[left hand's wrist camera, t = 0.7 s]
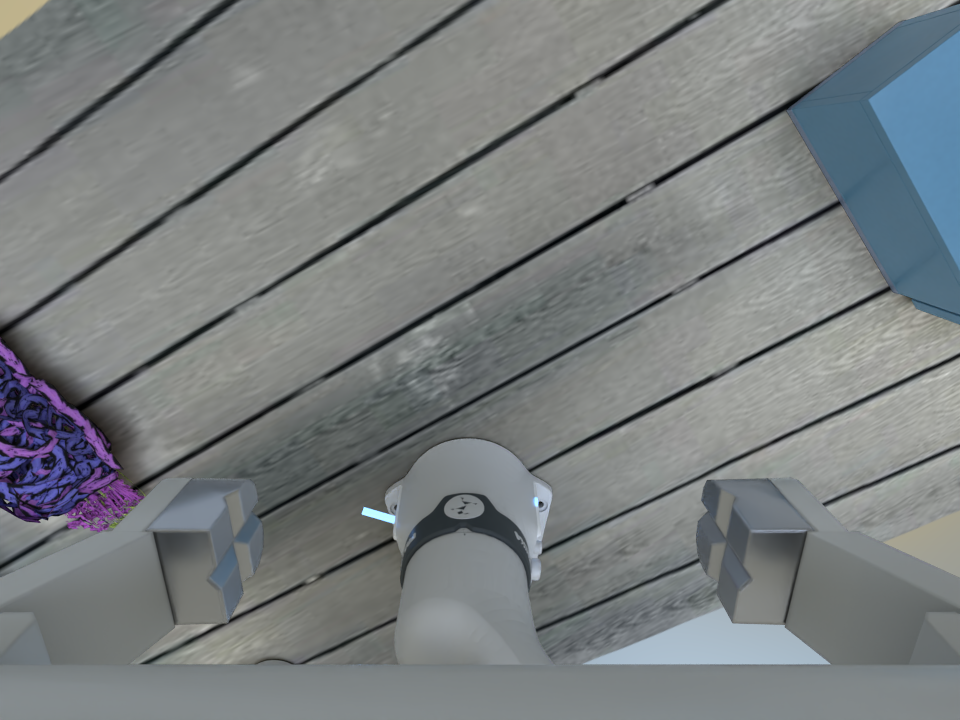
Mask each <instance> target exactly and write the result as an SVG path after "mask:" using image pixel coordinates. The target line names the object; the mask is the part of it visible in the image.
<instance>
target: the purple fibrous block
mask: <svg viewBox="0 0 960 720" xmlns="http://www.w3.org/2000/svg"><path fill="white" fill-rule="evenodd" d="M13 378H14V379H15V380H14V379H13ZM0 390H1V391H0V508H2V509H4V510H5V511H7V512H9V513H11V514H13V515H14V516H16V517H18V518H20V519H22V520H24V521H26V522H37V523H41V522H40V521H38V520H40V519H45V520H48V517H50V516H60V515H63V514H66V513H68V514H69V516H68V515H67V514H66V515H67V516H68V518H75V519H76V518H79V519H80V521H79V520H78V521H72V522H71V523H67V524H68V525H66V526H67V527H69V528H73V529H74V528H75V529H78V528H77V527H71V526H78V525H81V526H83V527H84V529H85V528H88V527H90V531H94V530H98V531H97V532H100V531H102V530H103V529H104V530H106V529H107V527H112V528H115V527H116V524H117V525H118V522H116V521H115V522H114V521H113V522H114V523H113V524H111V525H110V523H111V522H110V523H108V522H106V521H105V519H102V518H103V517H104V518H105V517H107V518H108V516H112V517H110V518H108V519H110V520H114V519H112V518H115V517H117V519H116V520H121V521H122V520H123V519H124V518H125V517H123V516H122V515H126V516H127V515H128V514H127V513H128V511H129V510H130V509H131V508H132V509H134V508H135V507H136V505H138V504H139V502H141V501H142V500H143V499H144V498H145V497H146V495H145V494H144V493H143V492H142V491H141V490H140V489H139V488H138V487H137V488H138V489H139V490H140V491H141V492H142V493H143V494H144V495H145V496H144V495H143V494H142V495H143V496H142V495H140V496H139V495H138V496H137V494H138V492H139V491H138V490H137V491H138V492H137V493H136V492H133V491H132V490H133V489H129V488H130V486H128V485H124V483H125V482H123V479H122V480H120V479H119V478H118V472H119V471H118V470H117V469H123V468H122V466H121V465H120V464H119V463H118V461H117V460H116V459H115V457H114V456H113V455H112V453H111V452H110V451H111V443H110V441H109V440H108V438H107V437H106V436H105V434H104V433H103V432H102V430H101V429H100V428H99V427H98V426H97V425H95V424H94V423H93V422H92V421H91V420H90V419H89V418H88V417H86V416H85V415H84V414H83V413H82V412H81V411H79V410H78V409H77V408H76V407H75V406H74V405H72V404H70V403H67V402H66V400H65V399H64V398H63V397H62V396H61V394H60V393H59V392H58V391H57V390H56V388H55V387H54V386H53V385H51V384H50V383H48V382H47V381H45V380H44V379H39V380H37V379H36V378H35V377H34V376H33V375H31V374H30V372H29V371H28V369H27V368H26V367H25V365H24V364H23V363H22V362H21V360H20V359H19V358H18V357H17V356H16V354H15V353H14V352H13V351H12V350H11V349H10V348H9V347H8V346H7V345H6V342H5V341H4V340H3V339H2V338H0ZM32 403H34V404H36V405H38V406H35V407H34V408H31V405H32ZM33 406H34V405H33ZM115 471H116V472H117V471H118V472H117V474H116V473H115ZM119 473H120V474H121V475H123V474H122V473H121V472H119ZM123 476H124V475H123ZM124 477H125V476H124ZM125 478H126V477H125ZM126 479H127V480H129V479H128V478H126ZM129 481H130V480H129ZM130 482H131V481H130ZM114 483H115V484H114ZM131 483H132V482H131ZM110 484H111V485H110ZM132 484H133V483H132ZM114 487H115V488H116V489H115V488H114ZM110 489H111V490H110ZM107 491H109V493H108V492H107ZM134 491H136V490H134ZM104 493H106V494H107V495H106V496H105V495H104ZM114 494H115V496H114ZM118 494H119V495H118ZM109 495H110V496H109ZM116 495H117V496H116ZM121 495H123V497H122V496H121ZM100 496H102V497H103V496H104V497H105V498H101V497H100ZM107 496H108V497H107ZM98 497H100V498H98ZM111 497H112V498H111ZM129 497H130V498H131V499H129ZM136 497H137V498H138V499H137V498H136ZM3 499H5V500H7V501H10V502H9V503H8V504H7V503H6V502H5V501H4V500H3ZM111 499H114V500H115V502H113V501H112V500H111ZM105 500H106V501H105ZM108 500H109V501H108ZM118 500H119V501H118ZM126 500H129V501H130V502H132V500H133V502H134V500H135V501H136V500H137V501H138V503H135V506H134V505H131V504H132V503H133V502H132V503H130V502H128V501H126ZM94 501H95V502H96V503H94ZM126 502H128V505H126ZM87 503H88V504H87ZM86 504H87V506H86ZM93 504H94V505H93ZM105 504H108V505H107V506H106V505H105ZM116 504H118V505H116ZM121 504H122V505H121ZM133 504H134V503H133ZM96 505H98V506H97V507H99V509H101V508H102V509H103V511H106V512H107V513H105V512H103V511H102V512H101V511H100V510H98V508H97V507H96ZM123 505H126V507H128V509H127V510H126V509H125V508H124V509H123V508H122V506H123ZM130 505H131V506H130ZM6 506H7V507H12V510H13V512H12V511H11V510H10V509H9V508H7V507H6ZM82 506H83V507H82ZM100 507H101V508H100ZM111 507H112V508H111ZM117 507H119V508H120V507H121V508H122V509H123V511H120V510H121V509H119V508H117ZM80 508H81V509H80ZM86 508H87V509H86ZM107 508H108V509H109V508H111V509H112V510H113V514H114V515H112V514H111V513H110V512H111V511H108V510H107ZM102 509H101V510H102ZM82 510H83V511H82ZM85 510H87V511H89V510H92V511H89V512H87V511H85ZM94 510H96V511H97V512H96V511H94ZM80 511H81V512H82V513H83V514H80V515H78V514H79V513H80ZM98 511H99V512H98ZM114 511H118V512H119V513H115V512H114ZM130 511H132V510H130ZM74 512H76V515H75V516H73V515H72V514H73V513H74ZM85 512H86V513H87V514H86V513H85ZM126 512H127V513H126ZM89 513H91V514H92V513H94V514H95V515H96V516H95V515H94V514H93V515H90V514H89ZM100 513H101V514H100ZM103 513H104V514H103ZM106 514H107V515H106ZM108 514H110V515H108ZM84 515H85V516H86V517H84ZM88 515H89V516H88ZM99 515H100V516H102V517H100V516H99ZM120 516H122V517H123V518H119V517H120ZM95 517H98V518H100V520H101V519H102V520H103V521H100V520H99V521H98V522H97V523H98V524H96V523H95V522H94V521H93V519H94V518H95ZM86 518H88V519H86ZM89 518H90V519H91V520H90V519H89ZM82 520H84V521H86V522H88V523H90V522H89V521H88V520H90V521H91V522H92V521H93V522H94V523H95V524H96V526H97V525H100V528H95V527H94V526H93V525H88V524H86V523H84V522H82ZM96 521H97V520H96ZM108 521H109V520H108ZM66 522H68V521H66ZM103 522H106V523H108V524H103V525H102V526H103V528H102V526H101V524H102V523H103ZM72 523H73V524H72ZM77 523H78V525H77ZM94 523H92V524H94ZM90 524H91V523H90ZM95 524H94V525H95ZM104 525H105V526H104ZM108 525H110V526H108ZM98 527H99V526H98Z"/></svg>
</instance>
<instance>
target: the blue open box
mask: <svg viewBox="0 0 960 720" xmlns="http://www.w3.org/2000/svg"><path fill="white" fill-rule="evenodd" d="M786 111H787V112H788V114H789V116H790V117H791V119H792V121H793V123H794V124H795V126H796V128H797V129H798V131H799V133H800V135H801V136H802V138H803V140H804V141H805V143H806V145H807V146H808V148H809V150H810V152H811V153H812V155H813V157H814V158H815V160H816V162H817V164H818V165H819V167H820V169H821V170H822V172H823V174H824V175H825V177H826V179H827V181H828V182H829V184H830V186H831V187H832V189H833V191H834V193H835V194H836V196H837V198H838V199H839V201H840V203H841V204H842V206H843V208H844V210H845V211H846V213H847V215H848V216H849V218H850V220H851V222H852V223H853V225H854V227H855V228H856V230H857V232H858V233H859V235H860V237H861V239H862V240H863V242H864V244H865V245H866V247H867V249H868V251H869V252H870V254H871V256H872V257H873V259H874V261H875V262H876V264H877V266H878V268H879V269H880V271H881V273H882V274H883V276H884V278H885V280H886V281H887V283H888V285H889V286H890V288H891V290H892V291H893V292H894V293H897V294H901V295H904V296H907V297H910V298H913V299H916V300H919V301H922V302H925V303H928V304H930V305H933V306H936V307H939V308H942V309H945V310H948V311H951V312H954V313H957V314H960V4H958V5H955V6H952V7H948V8H945V9H942V10H938V11H935V12H932V13H928V14H925V15H922V16H919V17H915V18H912V19H909V20H904V21H901V22H898V23H897V24H896V25H895V26H893V27H892V28H891V29H889V30H888V31H887V32H886V33H884V34H883V35H882V36H880V37H879V38H878V39H877V40H875V41H874V42H873V43H872V44H870V45H869V46H868V47H866V48H865V49H864V50H863V51H861V52H860V53H859V54H857V55H856V56H855V57H854V58H852V59H851V60H850V61H848V62H847V63H846V64H845V65H843V66H842V67H841V68H840V69H838V70H837V71H836V72H834V73H833V74H832V75H831V76H829V77H828V78H827V79H825V80H824V81H823V82H822V83H820V84H819V85H818V86H816V87H815V88H814V89H813V90H811V91H810V92H809V93H807V94H806V95H805V96H804V97H802V98H801V99H800V100H799V101H797V102H796V103H795V104H793V105H792V106H791V107H790V108H788V109H787V110H786Z"/></svg>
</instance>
